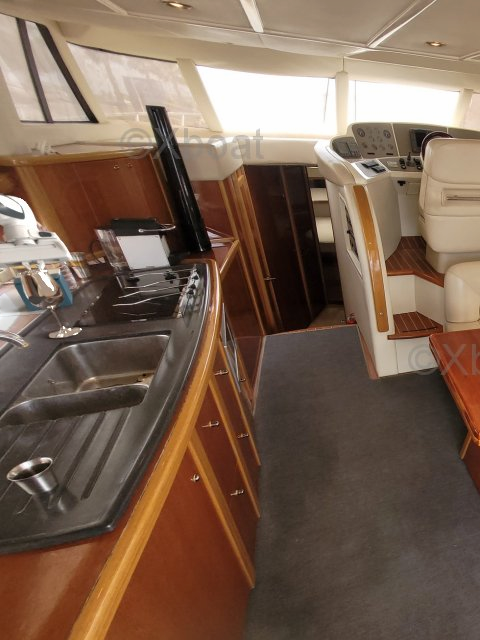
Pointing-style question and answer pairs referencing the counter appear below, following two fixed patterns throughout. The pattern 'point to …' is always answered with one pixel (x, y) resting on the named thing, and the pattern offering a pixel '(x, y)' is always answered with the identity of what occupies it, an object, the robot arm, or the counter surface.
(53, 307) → the wineglass
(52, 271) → the flap
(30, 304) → the tote
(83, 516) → the counter surface
